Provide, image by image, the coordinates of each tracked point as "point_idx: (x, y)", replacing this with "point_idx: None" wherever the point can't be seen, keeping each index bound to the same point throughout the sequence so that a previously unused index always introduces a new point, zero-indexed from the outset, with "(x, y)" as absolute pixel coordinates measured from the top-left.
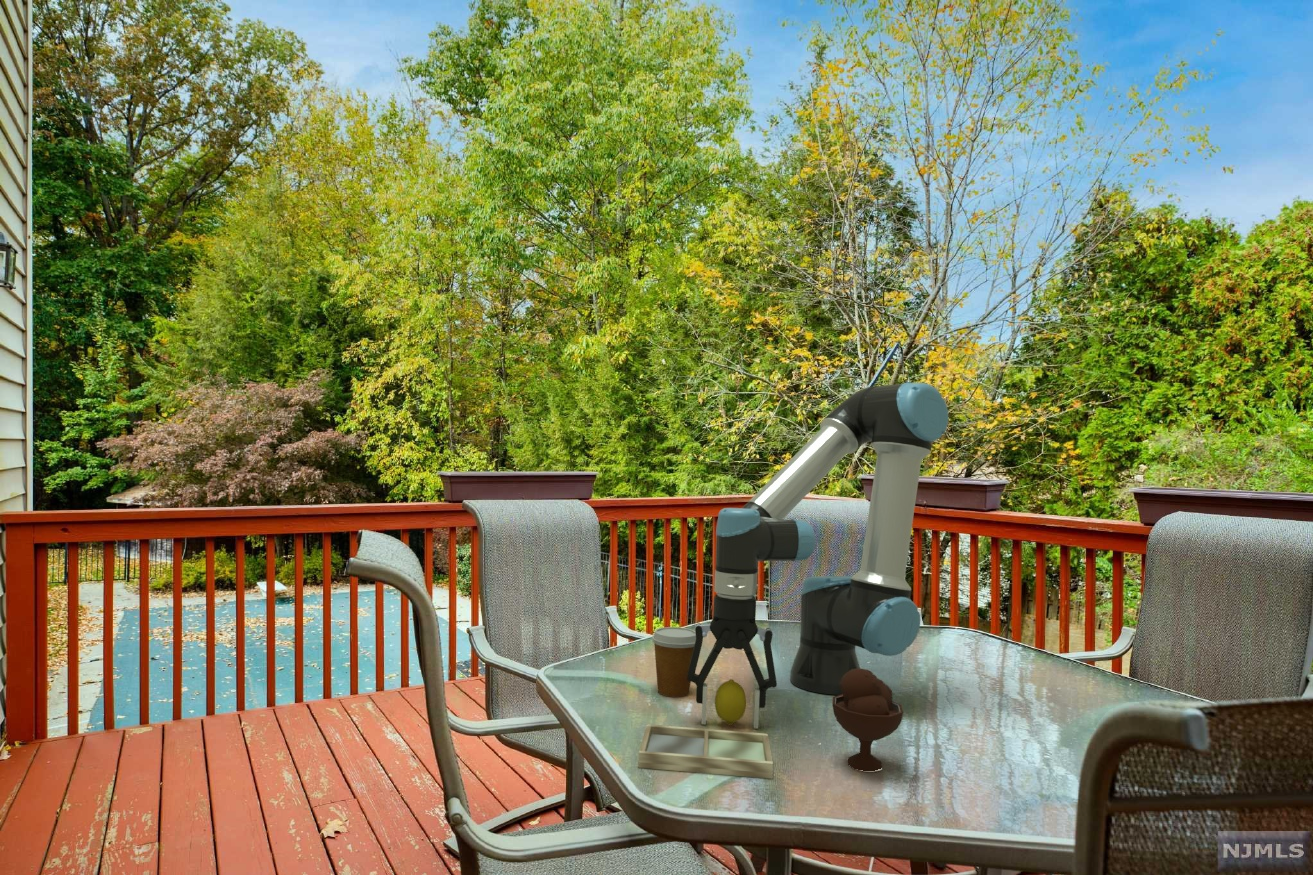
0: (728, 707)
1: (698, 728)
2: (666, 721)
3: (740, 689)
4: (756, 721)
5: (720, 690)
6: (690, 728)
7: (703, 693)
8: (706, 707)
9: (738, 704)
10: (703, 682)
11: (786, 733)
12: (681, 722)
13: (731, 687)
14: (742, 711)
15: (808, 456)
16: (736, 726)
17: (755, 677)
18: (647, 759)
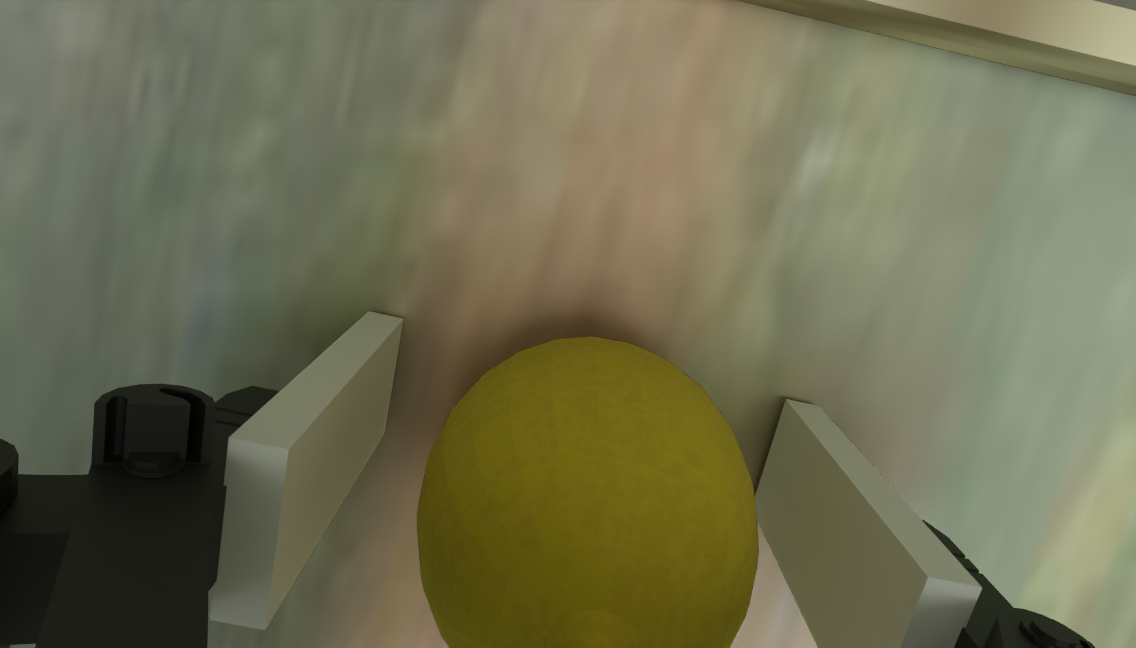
0: (647, 359)
1: (1017, 35)
2: (1063, 487)
3: (488, 507)
4: (369, 330)
5: (744, 536)
6: (1099, 34)
7: (932, 537)
8: (799, 518)
9: (537, 366)
10: (1009, 631)
11: (145, 236)
12: (952, 467)
13: (619, 515)
14: (489, 370)
15: None
16: None
17: (205, 564)
18: None
